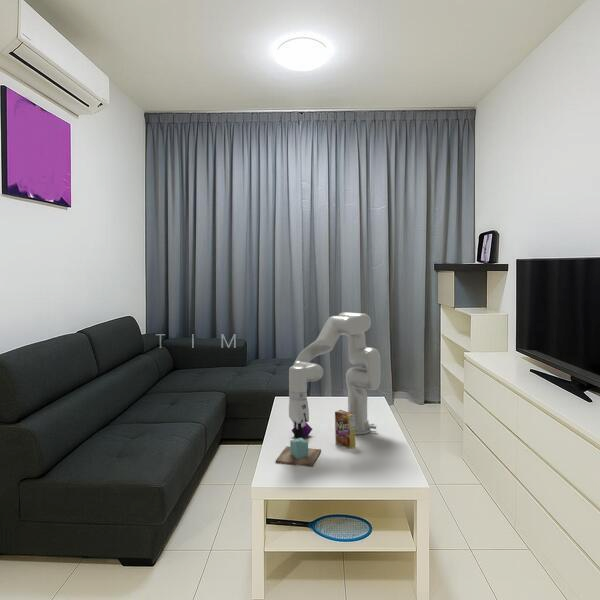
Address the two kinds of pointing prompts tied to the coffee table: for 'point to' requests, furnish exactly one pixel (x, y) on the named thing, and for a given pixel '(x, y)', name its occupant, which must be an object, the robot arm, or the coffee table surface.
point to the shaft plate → (303, 461)
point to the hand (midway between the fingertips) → (298, 437)
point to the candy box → (345, 428)
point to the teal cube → (299, 448)
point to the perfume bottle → (305, 430)
